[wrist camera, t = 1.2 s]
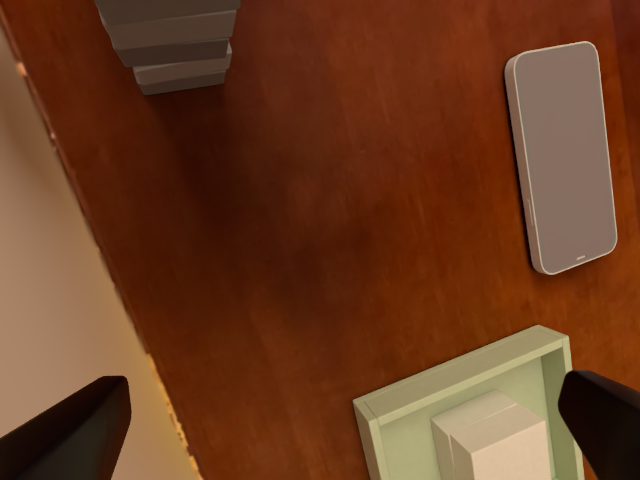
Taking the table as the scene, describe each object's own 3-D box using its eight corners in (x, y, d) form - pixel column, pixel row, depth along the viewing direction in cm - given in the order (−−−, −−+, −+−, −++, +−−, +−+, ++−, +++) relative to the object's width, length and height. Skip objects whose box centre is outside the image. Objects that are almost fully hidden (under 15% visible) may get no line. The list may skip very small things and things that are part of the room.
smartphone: (597, 38, 25) (619, 249, 28) (584, 44, 26) (606, 248, 29) (510, 54, 24) (542, 279, 26) (499, 59, 24) (531, 276, 27)
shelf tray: (390, 567, 26) (409, 603, 24) (351, 399, 24) (368, 422, 21) (556, 475, 30) (587, 498, 28) (537, 324, 28) (568, 335, 25)
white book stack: (444, 506, 26) (485, 558, 23) (427, 417, 25) (467, 456, 21) (509, 472, 28) (558, 515, 24) (496, 386, 27) (545, 417, 23)
